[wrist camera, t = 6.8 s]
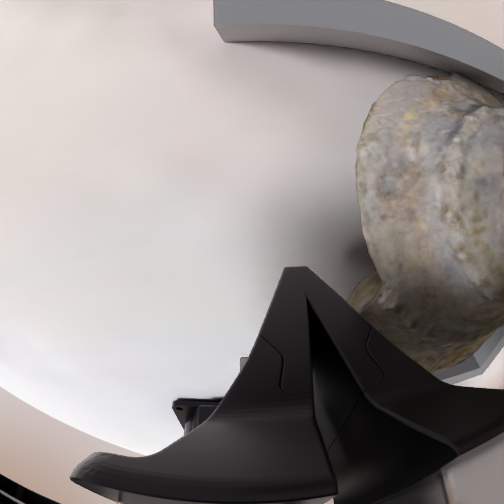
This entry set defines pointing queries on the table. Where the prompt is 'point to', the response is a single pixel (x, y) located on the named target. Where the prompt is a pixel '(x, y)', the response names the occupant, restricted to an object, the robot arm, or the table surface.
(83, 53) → the table surface
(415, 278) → the fossilized seashell
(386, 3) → the box
